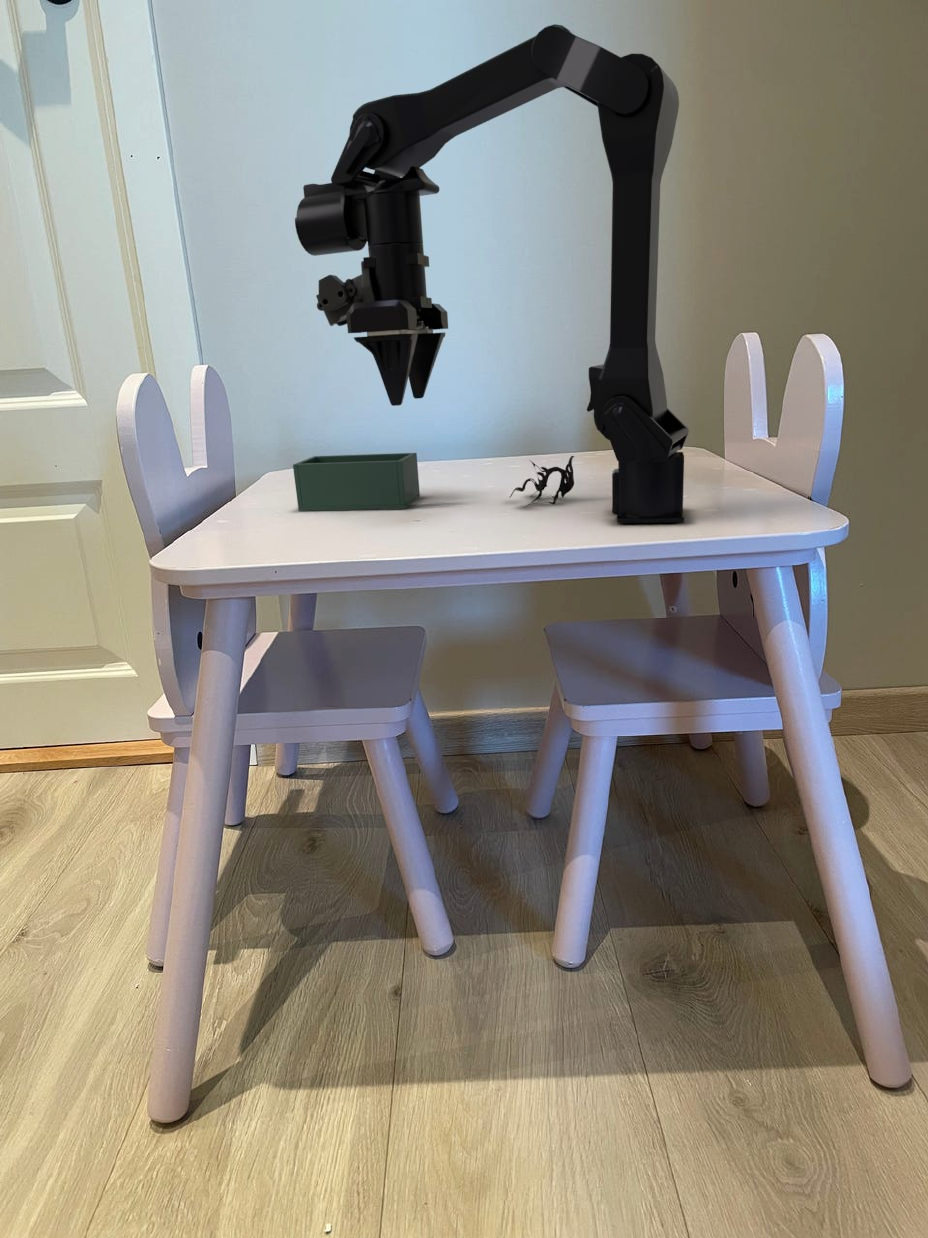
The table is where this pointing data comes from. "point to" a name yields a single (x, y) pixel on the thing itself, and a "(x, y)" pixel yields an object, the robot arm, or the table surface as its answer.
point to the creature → (542, 484)
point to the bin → (357, 482)
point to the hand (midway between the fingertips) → (408, 401)
